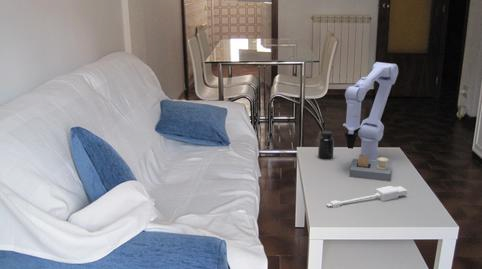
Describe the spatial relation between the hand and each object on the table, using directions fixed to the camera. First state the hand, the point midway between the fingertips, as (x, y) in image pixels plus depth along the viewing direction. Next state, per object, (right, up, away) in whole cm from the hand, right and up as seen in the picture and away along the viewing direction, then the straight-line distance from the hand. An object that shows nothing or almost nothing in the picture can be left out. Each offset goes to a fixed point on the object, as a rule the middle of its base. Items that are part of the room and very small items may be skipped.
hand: (351, 145), depth 210 cm
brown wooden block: (+4, -11, -2) cm, 12 cm away
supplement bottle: (-8, -6, +16) cm, 19 cm away
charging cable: (-1, -20, -30) cm, 36 cm away
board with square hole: (+7, -11, -3) cm, 14 cm away
